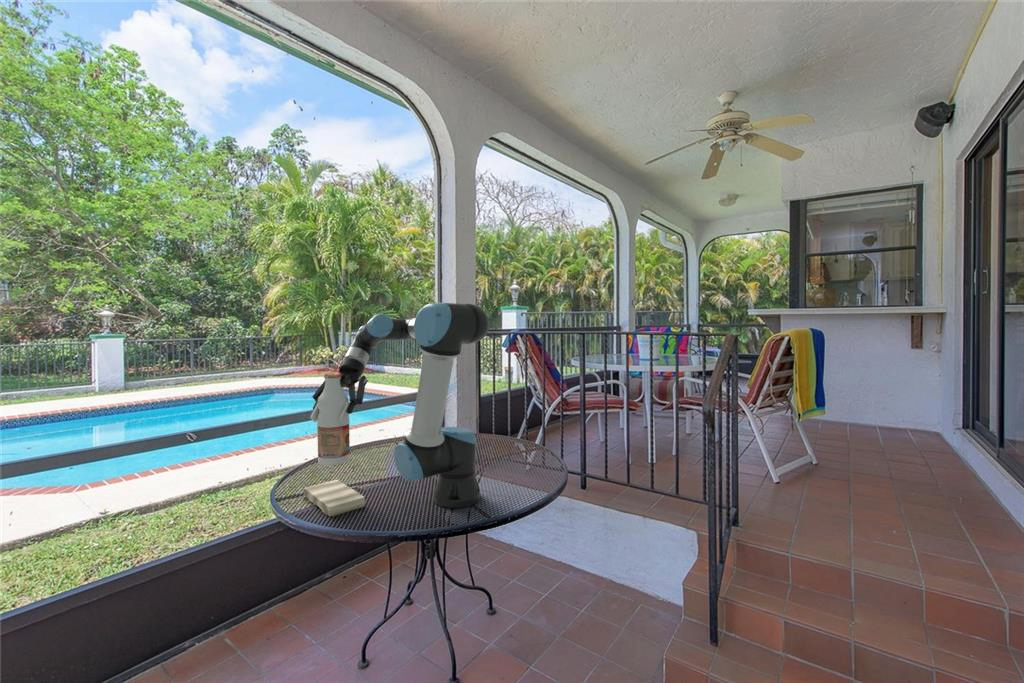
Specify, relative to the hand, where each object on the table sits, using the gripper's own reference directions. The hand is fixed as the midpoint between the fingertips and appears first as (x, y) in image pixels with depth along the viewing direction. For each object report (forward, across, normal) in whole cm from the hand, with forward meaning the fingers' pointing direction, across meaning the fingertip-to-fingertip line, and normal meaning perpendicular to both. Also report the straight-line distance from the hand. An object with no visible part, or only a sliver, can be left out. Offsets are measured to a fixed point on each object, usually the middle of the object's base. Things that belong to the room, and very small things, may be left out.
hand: (327, 420), depth 138 cm
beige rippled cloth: (+17, 0, -21) cm, 27 cm away
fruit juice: (+8, 0, -12) cm, 14 cm away
